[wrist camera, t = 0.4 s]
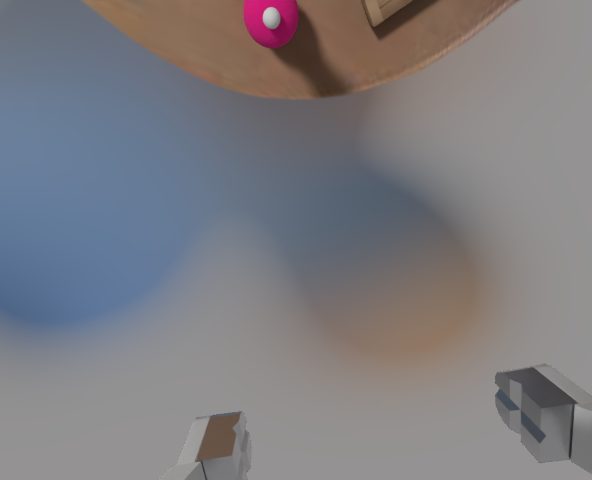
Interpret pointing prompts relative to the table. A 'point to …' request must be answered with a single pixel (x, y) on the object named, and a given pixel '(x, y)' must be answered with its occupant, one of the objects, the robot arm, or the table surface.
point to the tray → (381, 9)
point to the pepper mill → (271, 21)
